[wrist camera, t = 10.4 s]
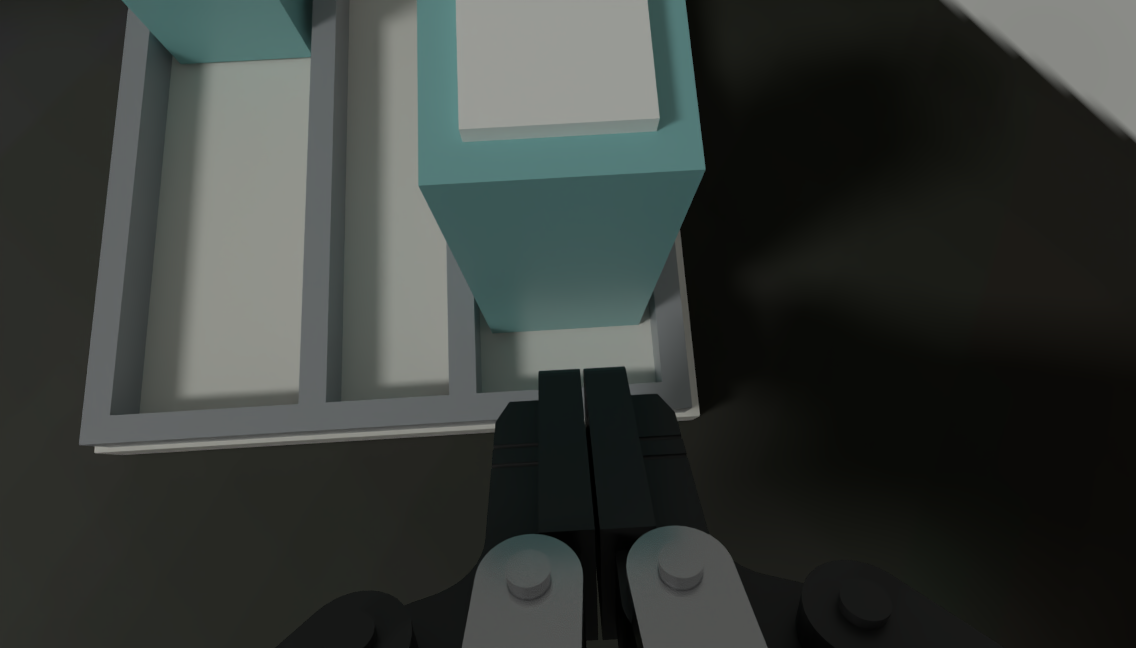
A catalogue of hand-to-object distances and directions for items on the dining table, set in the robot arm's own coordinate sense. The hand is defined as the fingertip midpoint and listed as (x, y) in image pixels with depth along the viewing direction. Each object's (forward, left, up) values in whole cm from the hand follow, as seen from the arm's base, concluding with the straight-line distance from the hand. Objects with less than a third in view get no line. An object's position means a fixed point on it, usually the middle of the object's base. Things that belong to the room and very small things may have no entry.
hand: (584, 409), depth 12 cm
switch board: (-8, +4, -5) cm, 10 cm away
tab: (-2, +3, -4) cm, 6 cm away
